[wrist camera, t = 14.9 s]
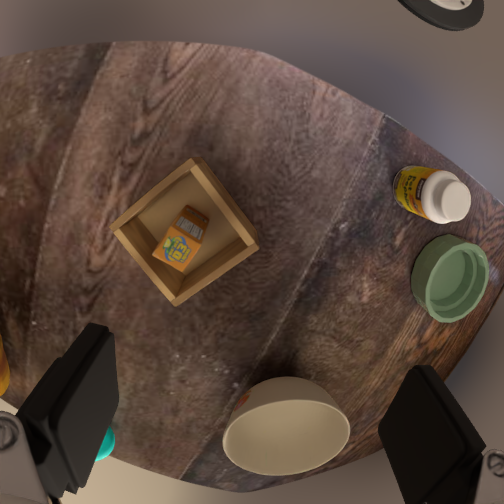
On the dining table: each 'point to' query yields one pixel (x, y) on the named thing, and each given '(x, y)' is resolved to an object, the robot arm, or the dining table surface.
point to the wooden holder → (163, 214)
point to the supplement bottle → (432, 194)
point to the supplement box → (182, 238)
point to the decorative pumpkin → (3, 369)
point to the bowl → (285, 427)
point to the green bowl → (449, 277)
